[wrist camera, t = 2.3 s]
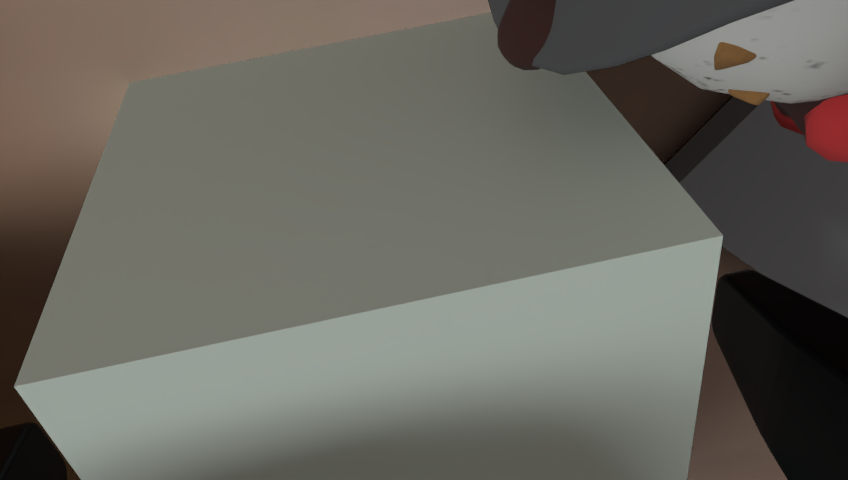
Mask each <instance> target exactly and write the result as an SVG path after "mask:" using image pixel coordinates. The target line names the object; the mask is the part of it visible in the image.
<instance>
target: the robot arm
mask: <svg viewBox="0 0 848 480" xmlns="http://www.w3.org/2000/svg"><path fill="white" fill-rule="evenodd" d="M712 327H713V332H714V335H715V337H716V340H717V342H718V344H719V346H720V348H721V351H722V353H723V355H724V357H725V359H726V361H727V363H728V366H729V368H730V370H731V372H732V374H733V376H734V379H735V381H736V383H737V385H738V387H739V389H740V392H741V394H742V396H743V398H744V400H745V402H746V405H747V407H748V409H749V411H750V413H751V415H752V417H753V420H754V422H755V424H756V426H757V428H758V430H759V432H760V434H761V435H762V437H763V439H764V441H765V442H766V444H767V446H768V448H769V449H770V451H771V453H772V454H773V456H774V458H775V459H776V461H777V463H778V464H779V466H780V468H781V469H782V471H783V473H784V474H785V476H786V477H787V479H788V480H848V317H846V316H844V315H842V314H840V313H838V312H836V311H834V310H832V309H830V308H828V307H826V306H824V305H822V304H820V303H818V302H816V301H814V300H812V299H810V298H808V297H806V296H804V295H802V294H800V293H798V292H796V291H794V290H792V289H790V288H788V287H786V286H784V285H782V284H780V283H778V282H776V281H774V280H772V279H770V278H768V277H766V276H764V275H762V274H760V273H758V272H756V271H753V270H744V271H739V272H735V273H730V274H725V275H723V276H721V278H720V279H719V281H718V284H717V289H716V296H715V302H714V309H713V315H712ZM0 480H67V470H66V466H65V463H64V460H63V459H62V457H61V456H60V454H59V453H58V451H57V450H56V449H55V447H54V446H53V444H52V443H51V442H50V440H49V439H48V437H47V436H46V435H45V433H44V432H43V430H42V429H41V428H40V427H39V426H38V425H37V424H35V423H29V422H28V423H23V424H19V425H14V426H9V427H5V428H2V429H0Z"/></svg>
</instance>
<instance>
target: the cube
mask: <svg viewBox="0 0 848 480" xmlns="http://www.w3.org/2000/svg"><path fill="white" fill-rule="evenodd" d="M497 34H498V29H497V27H496V24H495V22H494V20H493V16H492V13H487V14H481V15H476V16H471V17H466V18H461V19H456V20H450V21H445V22H440V23H435V24H430V25H425V26H420V27H414V28H409V29H404V30H399V31H394V32H389V33H383V34H378V35H373V36H368V37H363V38H358V39H352V40H347V41H342V42H337V43H332V44H327V45H321V46H316V47H311V48H306V49H301V50H296V51H290V52H285V53H280V54H275V55H270V56H265V57H259V58H254V59H249V60H244V61H239V62H234V63H228V64H223V65H218V66H213V67H208V68H203V69H198V70H192V71H187V72H182V73H177V74H172V75H167V76H161V77H156V78H151V79H146V80H141V81H136V82H130V83H129V86H128V89H127V91H126V94H125V96H124V99H123V102H122V104H121V107H120V110H119V112H118V115H117V117H116V120H115V123H114V125H113V128H112V131H111V133H110V136H109V138H108V141H107V144H106V146H105V149H104V152H103V154H102V157H101V159H100V162H99V165H98V167H97V170H96V173H95V175H94V178H93V180H92V183H91V186H90V188H89V191H88V194H87V196H86V199H85V201H84V204H83V207H82V209H81V212H80V215H79V217H78V220H77V222H76V225H75V228H74V230H73V233H72V236H71V238H70V241H69V243H68V246H67V249H66V251H65V254H64V257H63V259H62V262H61V264H60V267H59V270H58V272H57V275H56V278H55V280H54V283H53V285H52V288H51V291H50V293H49V296H48V299H47V301H46V304H45V306H44V309H43V312H42V314H41V317H40V320H39V322H38V325H37V327H36V330H35V333H34V335H33V338H32V341H31V343H30V346H29V348H28V351H27V354H26V356H25V359H24V361H23V364H22V367H21V369H20V372H19V375H18V377H17V380H16V382H15V385H14V388H15V389H16V390H17V392H18V393H19V394H20V396H21V397H22V399H23V400H24V401H25V403H26V404H27V406H28V407H29V408H30V410H31V411H32V413H33V414H34V415H35V417H36V418H37V419H38V421H39V422H40V424H41V425H42V426H43V428H44V429H45V431H46V432H47V433H48V435H49V436H50V438H51V439H52V440H53V442H54V443H55V444H56V446H57V447H58V449H59V450H60V451H61V453H62V454H63V456H64V457H65V458H66V460H67V461H68V462H69V464H70V465H71V467H72V468H73V469H74V471H75V472H76V474H77V475H78V476H79V478H80V479H81V480H687V476H688V470H689V463H690V456H691V449H692V443H693V436H694V429H695V422H696V416H697V409H698V402H699V395H700V389H701V382H702V375H703V368H704V362H705V355H706V348H707V341H708V335H709V328H710V321H711V314H712V308H713V301H714V294H715V287H716V281H717V274H718V267H719V260H720V254H721V247H722V240H723V235H722V234H721V232H720V231H719V230H718V229H717V228H716V226H715V225H714V224H713V223H712V222H711V220H710V219H709V218H708V217H707V216H706V214H705V213H704V212H703V211H702V210H701V209H700V207H699V206H698V205H697V204H696V203H695V201H694V200H693V199H692V198H691V197H690V195H689V194H688V193H687V192H686V191H685V189H684V188H683V187H682V186H681V185H680V183H679V182H678V181H677V180H676V179H675V178H674V176H673V175H672V174H671V173H670V172H669V170H668V169H667V168H666V167H665V166H664V164H663V163H662V162H661V161H660V160H659V158H658V157H657V156H656V155H655V154H654V152H653V151H652V150H651V149H650V148H649V147H648V145H647V144H646V143H645V142H644V141H643V139H642V138H641V137H640V136H639V135H638V133H637V132H636V131H635V130H634V129H633V127H632V126H631V125H630V124H629V123H628V121H627V120H626V119H625V118H624V117H623V116H622V114H621V113H620V112H619V111H618V110H617V108H616V107H615V106H614V105H613V104H612V102H611V101H610V100H609V99H608V98H607V96H606V95H605V94H604V93H603V92H602V91H601V89H600V88H599V87H598V86H597V85H596V83H595V82H594V81H593V80H592V79H591V77H590V76H589V75H588V74H587V73H586V72H579V73H573V74H567V75H562V74H559V73H555V72H552V71H548V70H544V69H539V70H522V69H519V68H517V67H514V66H513V65H511V64H510V63H509V62H508V61H507V60H506V59H505V58H504V57H503V55H502V54H501V52H500V50H499V48H498V41H497Z"/></svg>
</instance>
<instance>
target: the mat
mask: <svg viewBox="0 0 848 480" xmlns="http://www.w3.org/2000/svg"><path fill="white" fill-rule="evenodd" d="M664 166H665V167H666V168H667V169H668V170H669V172H670V173H671V174H672V175H673V176H674V178H675V179H676V180H677V181H678V182H679V183H680V185H681V186H682V187H683V188H684V189H685V191H686V192H687V193H688V194H689V195H690V197H691V198H692V199H693V200H694V201H695V203H696V204H697V205H698V206H699V207H700V209H701V210H702V211H703V212H704V213H705V214H706V216H707V217H708V218H709V219H710V220H711V222H712V223H713V224H714V225H715V226H716V228H717V229H718V230H719V231H720V232H721V234H722V235H723V240H722V247H723V248H725V249H726V250H727V251H729V252H730V253H732V254H733V255H735V256H736V257H738V258H739V259H740V260H742V261H743V262H745V263H746V264H748V265H749V266H751V267H752V268H754V269H755V270H756V271H758V272H759V273H761V274H762V275H764V276H766V277H768V278H770V279H772V280H774V281H776V282H778V283H780V284H782V285H784V286H786V287H788V288H790V289H792V290H794V291H796V292H798V293H800V294H802V295H804V296H806V297H808V298H810V299H812V300H814V301H816V302H818V303H820V304H822V305H824V306H826V307H828V308H830V309H832V310H834V311H836V312H838V313H840V314H842V315H844V316H846V317H848V162H839V161H829V160H826V159H825V158H823V157H822V156H821V155H819V154H818V153H816V152H815V151H813V150H812V149H810V148H809V147H808V146H806V142H805V138H804V135H802V134H799V133H796V132H794V131H791V130H789V129H786V128H783V127H781V126H780V125H779V123H778V122H777V120H776V119H775V117H774V114H773V110H772V106H771V102H770V101H768V100H764V101H763V102H762V103H761V104H760V105H753V104H750V103H747V102H745V101H743V100H740V99H738V98H735V97H732V98H731V99H730V100H729V101H728V102H727V103H726V104H725V105H724V106H723V107H722V108H721V109H720V110H719V111H718V112H717V113H716V114H715V115H714V116H713V117H712V118H711V119H710V120H709V121H708V122H707V123H706V124H705V125H704V126H703V127H702V128H701V129H700V130H699V131H698V132H697V133H696V134H695V135H694V136H693V137H692V138H691V139H690V140H689V141H688V142H687V143H686V144H685V145H684V146H683V147H682V148H681V149H680V150H679V151H678V152H677V153H676V154H675V155H674V156H673V157H672V158H671V159H670V160H669V161H668V162H667V163H666V164H665V165H664Z"/></svg>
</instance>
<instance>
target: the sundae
mask: <svg viewBox="0 0 848 480" xmlns="http://www.w3.org/2000/svg"><path fill="white" fill-rule="evenodd" d="M488 2H489V5H490V9H491V13H492V16H493V20H494V22H495V24H496V27H497V29H498V34H497V41H498V48H499V50H500V52H501V54H502V55H503V57H504V58H505V59H506V60H507V61H508V62H509V63H510V64H511V65H513V66H514V67H517V68H519V69H522V70H539V69H544V70H548V71H552V72H555V73H559V74H562V75H567V74H573V73H579V72H586V71H592V70H598V69H604V68H610V67H615V66H619V65H622V64H625V63H628V62H631V61H634V60H637V59H640V58H643V57H647V56H650V55H651V56H652V57H654V58H655V59H656V60H658V61H659V62H661V63H662V64H664V65H665V66H667V67H668V68H670V69H671V70H673V71H674V72H676V73H677V74H679V75H680V76H682V77H683V78H685V79H686V80H688V81H689V82H691V83H692V84H694V85H695V86H697V87H698V88H700V89H705V90H709V91H715V92H720V93H725V94H730V95H732V96H733V97H735V98H738V99H740V100H743V101H745V102H747V103H750V104H753V105H760V104H761V103H762V102H763V101H764V100H768V101H770V102H771V106H772V110H773V114H774V117H775V119H776V120H777V122H778V123H779V125H780V126H781V127H783V128H786V129H789V130H791V131H794V132H796V133H799V134H802V135H804V138H805V142H806V146H808V147H809V148H810V149H812V150H813V151H815V152H816V153H818V154H819V155H821V156H822V157H823V158H825V159H826V160H829V161H839V162H848V0H488Z"/></svg>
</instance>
